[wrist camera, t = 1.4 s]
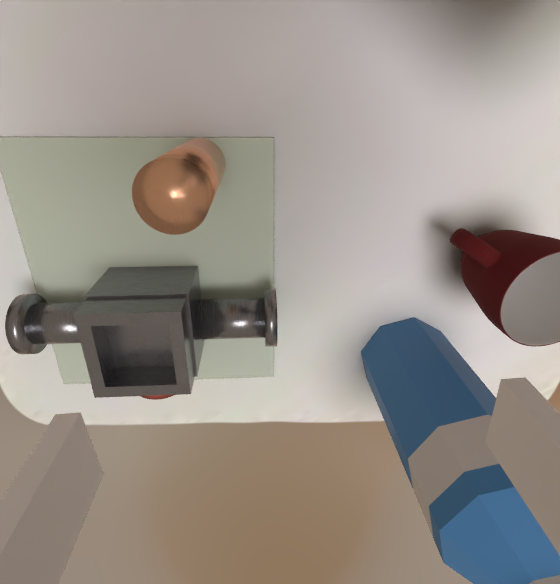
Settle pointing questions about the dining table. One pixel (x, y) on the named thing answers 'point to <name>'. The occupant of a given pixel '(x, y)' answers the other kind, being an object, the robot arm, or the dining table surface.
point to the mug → (514, 282)
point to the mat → (142, 230)
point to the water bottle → (455, 457)
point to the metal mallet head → (141, 328)
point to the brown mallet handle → (179, 186)
